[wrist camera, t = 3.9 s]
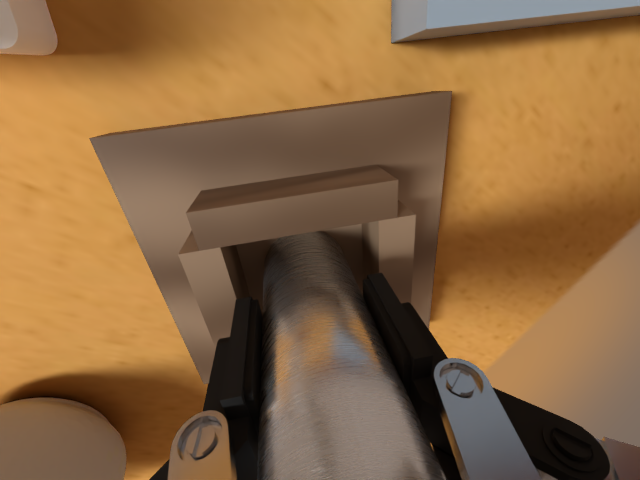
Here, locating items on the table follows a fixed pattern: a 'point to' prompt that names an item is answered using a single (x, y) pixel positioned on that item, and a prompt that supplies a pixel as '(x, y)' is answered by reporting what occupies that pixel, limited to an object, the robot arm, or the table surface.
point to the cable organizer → (26, 28)
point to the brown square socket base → (282, 200)
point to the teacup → (58, 442)
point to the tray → (495, 15)
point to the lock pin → (330, 376)
